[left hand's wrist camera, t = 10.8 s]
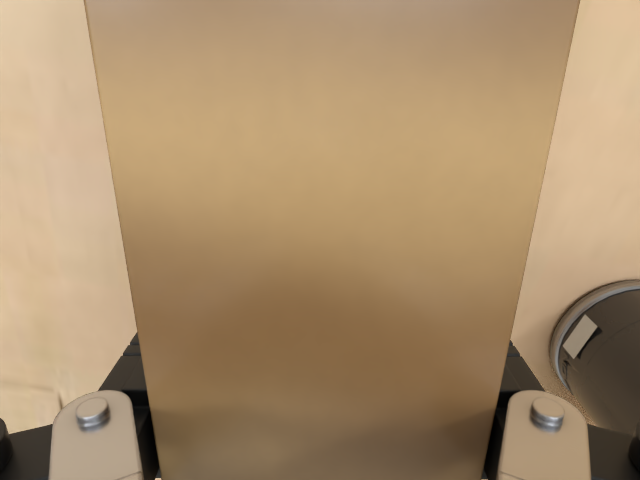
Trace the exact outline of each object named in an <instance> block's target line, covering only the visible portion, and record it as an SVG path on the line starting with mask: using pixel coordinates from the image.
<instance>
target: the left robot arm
mask: <svg viewBox="0 0 640 480" xmlns="http://www.w3.org/2000/svg"><path fill="white" fill-rule="evenodd" d="M550 359H551V364H552V367H553V369H554V371H555V373H556V374H557V376H558V377H559V379H560V380H561V382H562V383H563V384H564V386H565V387H566V388H567V389H568V390H569V391H570V392H571V394H572V395H574V396H575V398H576V399H577V401H578V402H579V403H580V405H581V406H582V407H583V409H584V410H585V411H586V413H587V414H588V416H589V417H590V418H591V420H592V421H593V422H594V424H595V425H596V426H597V427H596V426H593V425H590V424H587V422H586V420H585V418H584V416H583V415H582V413H581V412H580V411H579V410H578V409H577V408H576V407H575V406H574V405H572V404H571V403H569V402H568V401H566V400H565V399H563V398H561V397H559V396H556V395H554V394H551V393H548V392H545V390H544V389H543V388H542V386H541V385H540V383H539V382H538V380H537V379H536V377H535V376H534V374H533V373H532V371H531V370H530V368H529V367H528V365H527V364H526V362H525V361H524V359H523V358H522V357H520V354H519V352H518V351H517V349H516V348H515V346H513V343H512V342H511V340H510V342H509V347H508V352H507V357H506V362H505V367H504V372H503V376H502V381H501V386H500V391H499V396H498V401H497V405H496V410H495V415H494V420H493V425H492V430H491V435H490V439H489V444H488V449H487V454H486V459H485V464H484V468H483V473H482V478H481V479H488V480H640V280H630V281H622V282H617V283H614V284H610V285H607V286H604V287H602V288H600V289H597V290H595V291H593V292H591V293H590V294H588V295H586V296H585V297H583V298H582V299H581V300H579V301H578V302H577V303H576V304H574V305H573V306H572V307H571V308H570V309H569V310H568V311H567V312H566V314H565V315H564V316H563V317H562V319H561V320H560V322H559V323H558V325H557V327H556V329H555V331H554V334H553V336H552V340H551V345H550ZM155 478H161V473H160V467H159V461H158V455H157V449H156V443H155V437H154V430H153V424H152V418H151V412H150V406H149V400H148V393H147V387H146V381H145V375H144V369H143V363H142V356H141V350H140V344H139V338H138V332H137V333H136V335H135V336H134V338H133V339H132V341H131V342H130V345H128V347H127V348H126V350H125V351H124V353H123V356H121V357H120V359H119V360H118V362H117V363H116V365H115V366H114V368H113V369H112V371H111V372H110V374H109V375H108V377H107V378H106V380H105V381H104V383H103V384H102V386H101V387H100V389H99V390H98V391H97V392H92V393H89V394H86V395H84V396H81V397H79V398H77V399H75V400H74V401H72V402H71V403H69V404H68V405H66V406H65V407H64V408H63V409H62V410H61V411H60V412H59V413H58V415H57V416H56V418H55V420H54V422H53V424H51V425H47V426H43V427H39V428H34V429H30V430H26V431H21V432H17V433H12V434H8V431H7V428H6V425H5V423H4V421H3V420H2V419H1V418H0V480H155Z"/></svg>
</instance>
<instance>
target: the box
mask: <svg viewBox="0 0 640 480" xmlns="http://www.w3.org/2000/svg"><path fill="white" fill-rule="evenodd" d="M579 3H580V0H84V5H85V11H86V18H87V24H88V30H89V36H90V42H91V48H92V55H93V61H94V67H95V73H96V79H97V85H98V92H99V98H100V104H101V110H102V116H103V122H104V128H105V135H106V141H107V147H108V153H109V159H110V165H111V172H112V178H113V184H114V190H115V196H116V202H117V209H118V215H119V221H120V227H121V233H122V239H123V246H124V252H125V258H126V264H127V270H128V276H129V283H130V289H131V295H132V301H133V307H134V313H135V319H136V326H137V332H138V338H139V344H140V350H141V356H142V363H143V369H144V375H145V381H146V387H147V393H148V400H149V406H150V412H151V418H152V424H153V430H154V437H155V443H156V449H157V455H158V461H159V467H160V473H161V480H481V478H482V473H483V468H484V464H485V459H486V454H487V449H488V444H489V439H490V435H491V430H492V425H493V420H494V415H495V410H496V405H497V401H498V396H499V391H500V386H501V381H502V376H503V372H504V367H505V362H506V357H507V352H508V347H509V342H510V338H511V333H512V328H513V323H514V318H515V313H516V309H517V304H518V299H519V294H520V289H521V284H522V279H523V275H524V270H525V265H526V260H527V255H528V250H529V246H530V241H531V236H532V231H533V226H534V221H535V216H536V212H537V207H538V202H539V197H540V192H541V187H542V183H543V178H544V173H545V168H546V163H547V158H548V154H549V149H550V144H551V139H552V134H553V129H554V124H555V120H556V115H557V110H558V105H559V100H560V95H561V91H562V86H563V81H564V76H565V71H566V66H567V61H568V57H569V52H570V47H571V42H572V37H573V32H574V28H575V23H576V18H577V13H578V8H579Z"/></svg>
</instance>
